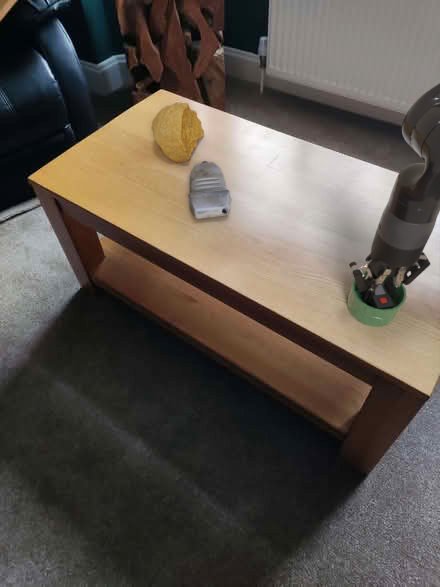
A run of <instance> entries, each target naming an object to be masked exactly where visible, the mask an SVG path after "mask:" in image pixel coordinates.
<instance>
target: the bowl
mask: <svg viewBox="0 0 440 587" xmlns="http://www.w3.org/2000/svg"><path fill="white" fill-rule="evenodd" d="M367 274H368V270H366V271H365V274H364V275H365V276H364V277H363V279H364V278H366V276H367ZM386 280H389V278H388V277H386V278H385V280H384V281H383V284H385V281H386ZM391 300H392V302H393V304H394V307H393V308H391V309H376V308H373V307H371V306H370V304H369V303H366V302H365V301H364V300H363V298H362V295H361V291H360V290H359V288H358V286H357V283H356V281H355V279H354V278H353V281H352V283H351V286H350V290H349V292H348V296H347V299H346V304H347V305H346V306H347V310H348V312H349V313H350V315H351V316H352V317H353V318H354V319H355V320H357V321H358V322H359V323H361V324H363V325H366V326H369V327H374V328H375V327H377V328H379V327H384V326H388V325H390V324H391V323H393V322H394V321H395V320H396V319H397V317H398V316H399V314H400V312H401V310H402V308H403V306H404V305H405V302H406V300H407V289H406V287H405V285H404V284H401V285H400V287H399V288H397V289H396V291H395V293H394V295H393V296H392V297H391Z"/></svg>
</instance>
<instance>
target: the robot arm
mask: <svg viewBox="0 0 440 587" xmlns="http://www.w3.org/2000/svg"><path fill="white" fill-rule="evenodd" d="M401 134H402V137H403V138H404V141H405V142H406V143H407V144H408V145H409V147H411V149H413V151H414V152H415V153H416V154H417V155H418V156H419V157H420V158H421V159H422V160H423V161H424V162H415V163H411V164H408V165H406V166H405V167H403V168H402V169H401V170H400V171H399V173H398V174H397V176H396V179H395V181H394V184H393V187H392V190H391V192H390V194H389V198H388V201H387V203H386V205H385V207H384V209H383V211H382V213H381V216H380V219H379V221H378V224H377V228H376V231H375V234H374V236H373V240H372V242H371V246H370V247H371V248H370V253H369V254H368V255H367V256H366V258H365V261H362V262H359V263H358V264H357V262H356V261H351V262H350V263H349V264H348V265H349V269H350V271H351V274H352V276H353V280H354V279H355V281H356V283H357V286H358V288H359V290H360V291H361V295H362V298H363V300H364V301H365V302H366V303H371V300H372V298H373V296H374V294H375V290H376V288H377V287H378V285H381V284H382V283H383V281H384V280H385V278H386V277H388V278H389V280H386V281H385V284H384V287H385V289H386V291H387V293H388V295H389V296H390V298H391V297H392V296H393V295H394V293H395V291H396V289H397V288H399V287H400V285H401V284H403V285H404V286H409V285H410V284H412V282H414V281H415V280H416V279H417V278H418V277H419V276H420V275H421V274H422V273H424V271H426V269H427V268H429V267H430V266H431V262H430V260H429V258H428V257H427V255H426V254H425V252H423V251H424V249H425V247H426V245H427V244H428V242H429V240H430V237H431V235H432V233H433V231H434V229H435V226H436V222H437V219H438V216H439V214H440V82H439V83H437V84H436V85H434V86H433V87H431V88H430V89H428V90H427V91H425V92H424V93H422V95H420V96H419V97H418V98H417V99H416V100H415V101H414V102H413V103H412V105H411V106H410V108H409V109H408V111H407V112H406V114H405V116H404V118H403V121H402V125H401ZM365 271H368V274H367V276H366V278H365V279H363V277H364V276H365V275H364V274H365ZM408 273H410V274H409V275H408Z"/></svg>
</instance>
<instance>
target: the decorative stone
mask: <svg viewBox="0 0 440 587" xmlns="http://www.w3.org/2000/svg"><path fill="white" fill-rule="evenodd" d="M151 131H152V135H153V138H154V140H155V141H156V143H157V144H158V146H159V147H160V149H161V150H162V153H163V154H164V155H165V156H166V157H167V158H168V159H169V160H171V161H173V162H174V163H176V162H177V163H184V162H187V161H190V158H191V156H192V153H193V152H194V149H195V148H197V144H198V142H199V140H200V139H202V138H203V137H204V136H205V130H204V129H203V127H202V121H201V119H200V118H199V117H198V113H197V111H196V110H194V109H191V107H190V104H189V103H188V102H175V103H173V104H171V105H166V106H164V107H162V108H161V109H160V110H159V111H158V112H157V114H156V115H155V117H154V118H153V120H152V123H151Z"/></svg>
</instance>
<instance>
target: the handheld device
mask: <svg viewBox="0 0 440 587" xmlns="http://www.w3.org/2000/svg"><path fill="white" fill-rule="evenodd" d="M189 188H190V193H188V204H189V210H190V212H191V214H192V216H193V217H194V218H195V219H198V220H199V219H207V218H208V219H209V218H218V217H227V216H228V215H229V213H230V211H231V205H232V197H231V191H230V189H227V185H226V180H225V175H224V173H223V171H222V169H221V168H220V166H219V165H218V164H216V163H215V162H213V161H212V162H209V161H207V160H204V161H202V162H201V163H196V164H195V165H194V166H193V168H192V170H191V172H190V176H189Z"/></svg>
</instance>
